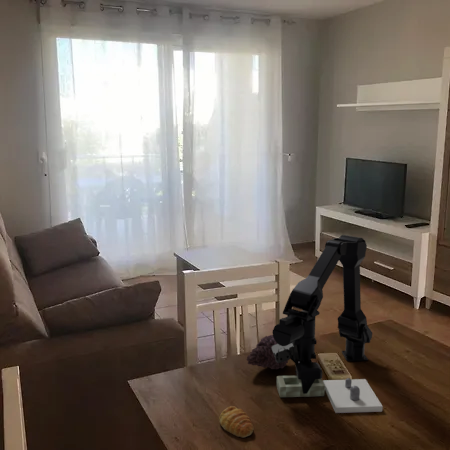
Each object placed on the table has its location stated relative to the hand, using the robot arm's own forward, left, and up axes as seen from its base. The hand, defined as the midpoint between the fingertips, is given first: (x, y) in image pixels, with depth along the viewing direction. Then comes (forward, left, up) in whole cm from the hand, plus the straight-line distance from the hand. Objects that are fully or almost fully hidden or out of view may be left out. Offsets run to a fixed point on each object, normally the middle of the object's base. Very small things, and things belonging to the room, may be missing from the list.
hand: (302, 387), depth 142 cm
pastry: (+15, -19, -2) cm, 24 cm away
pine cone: (-14, -7, -1) cm, 16 cm away
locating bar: (0, -1, -1) cm, 1 cm away
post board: (+4, +12, -1) cm, 13 cm away
